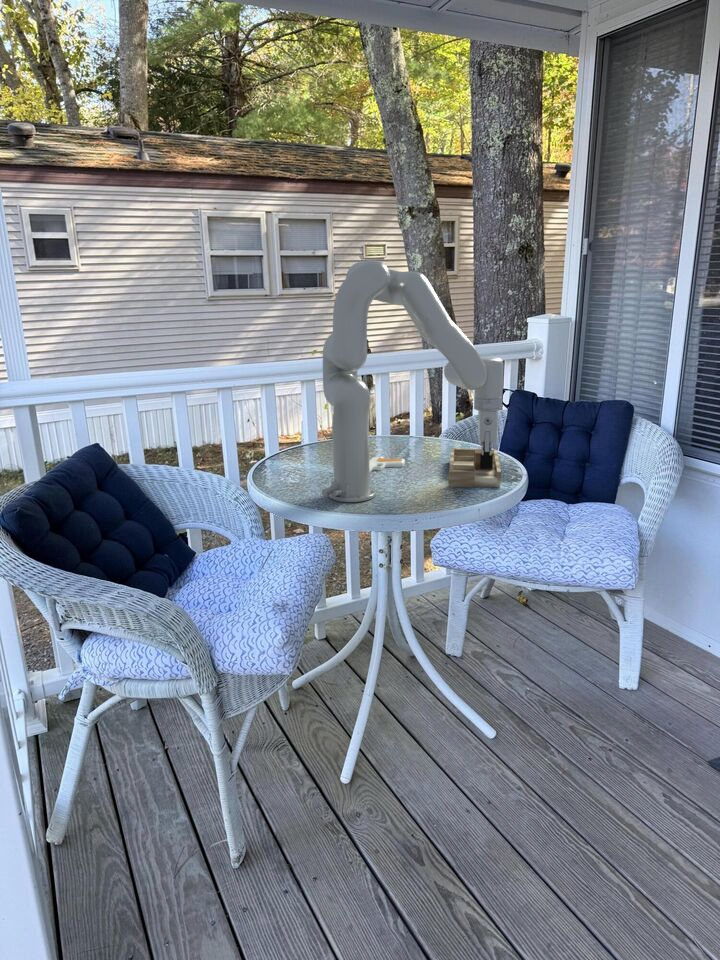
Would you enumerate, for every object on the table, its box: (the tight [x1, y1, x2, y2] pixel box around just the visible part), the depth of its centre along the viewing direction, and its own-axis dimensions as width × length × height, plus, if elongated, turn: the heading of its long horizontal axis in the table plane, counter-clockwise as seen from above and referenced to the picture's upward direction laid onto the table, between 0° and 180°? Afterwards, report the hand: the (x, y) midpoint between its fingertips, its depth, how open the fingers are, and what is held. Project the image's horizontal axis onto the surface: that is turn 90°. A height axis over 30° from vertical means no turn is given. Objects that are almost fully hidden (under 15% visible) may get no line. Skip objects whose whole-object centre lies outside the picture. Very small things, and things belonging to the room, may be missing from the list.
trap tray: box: [448, 448, 502, 488], centre depth 187 cm, size 26×14×4 cm, turn 171°
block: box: [473, 448, 493, 470], centre depth 184 cm, size 5×5×5 cm
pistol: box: [369, 455, 406, 473], centre depth 193 cm, size 2×20×11 cm
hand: (485, 467), depth 179 cm, fingers closed
